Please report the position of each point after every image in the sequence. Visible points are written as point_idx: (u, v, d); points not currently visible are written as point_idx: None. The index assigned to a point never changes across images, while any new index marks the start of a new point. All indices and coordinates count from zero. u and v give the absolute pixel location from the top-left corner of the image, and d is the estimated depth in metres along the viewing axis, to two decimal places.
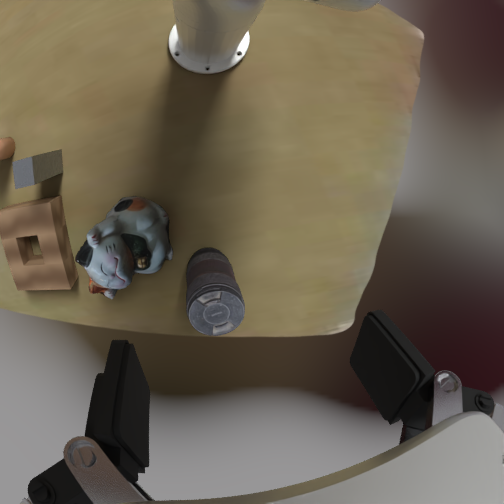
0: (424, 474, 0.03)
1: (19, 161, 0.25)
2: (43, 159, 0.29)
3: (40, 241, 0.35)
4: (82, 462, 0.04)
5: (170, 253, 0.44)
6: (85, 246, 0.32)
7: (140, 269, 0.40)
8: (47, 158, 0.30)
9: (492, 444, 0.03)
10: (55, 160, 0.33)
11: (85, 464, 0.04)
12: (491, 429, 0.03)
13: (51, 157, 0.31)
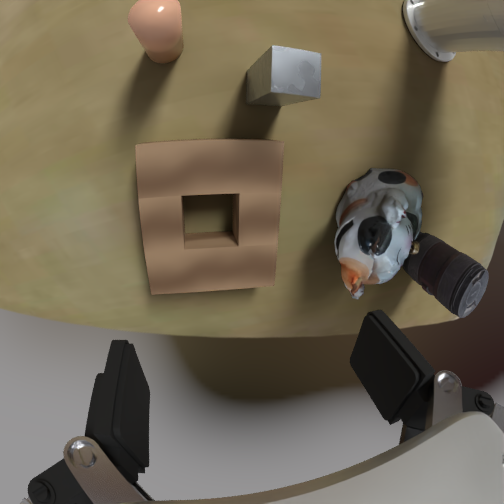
0: (424, 474, 0.03)
1: (291, 50, 0.16)
2: None
3: (243, 205, 0.26)
4: (82, 462, 0.04)
5: None
6: (384, 225, 0.24)
7: None
8: None
9: (492, 444, 0.03)
10: None
11: (85, 464, 0.04)
12: (491, 429, 0.03)
13: None
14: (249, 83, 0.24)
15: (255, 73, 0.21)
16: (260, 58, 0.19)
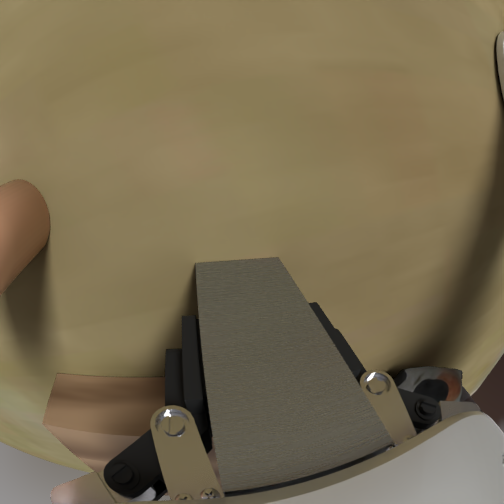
0: (424, 474, 0.03)
1: (293, 481, 0.04)
2: None
3: None
4: (167, 430, 0.06)
5: None
6: None
7: None
8: None
9: (492, 444, 0.03)
10: None
11: (170, 433, 0.06)
12: (491, 429, 0.03)
13: None
14: None
15: None
16: (204, 368, 0.07)
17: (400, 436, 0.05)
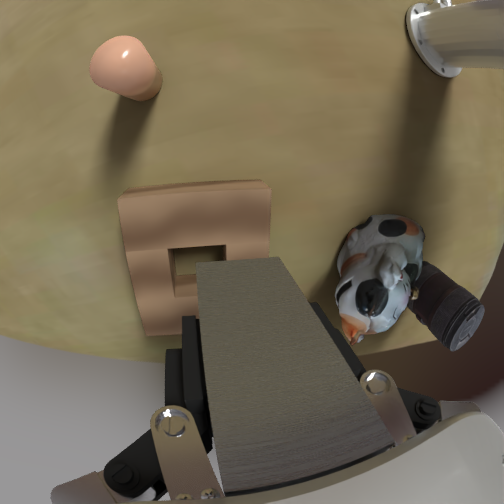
0: (424, 474, 0.03)
1: (294, 481, 0.04)
2: None
3: (230, 255, 0.26)
4: (167, 430, 0.06)
5: None
6: (381, 290, 0.25)
7: None
8: None
9: (492, 444, 0.03)
10: None
11: (170, 433, 0.06)
12: (491, 429, 0.03)
13: None
14: None
15: None
16: (204, 368, 0.07)
17: (400, 436, 0.05)
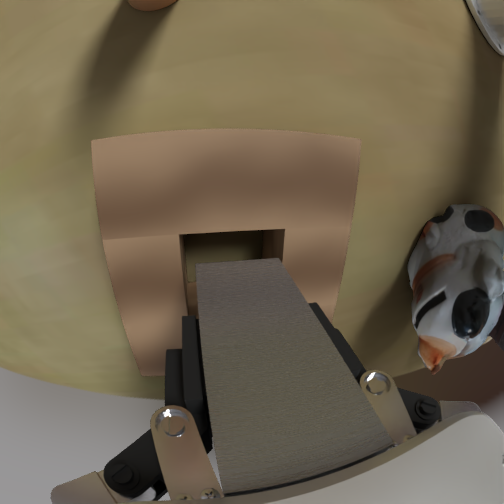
0: (424, 474, 0.03)
1: (293, 482, 0.04)
2: None
3: (289, 249, 0.15)
4: (167, 430, 0.06)
5: None
6: (486, 303, 0.14)
7: None
8: None
9: (492, 444, 0.03)
10: None
11: (170, 433, 0.06)
12: (491, 429, 0.03)
13: None
14: None
15: None
16: (204, 369, 0.07)
17: (400, 436, 0.05)
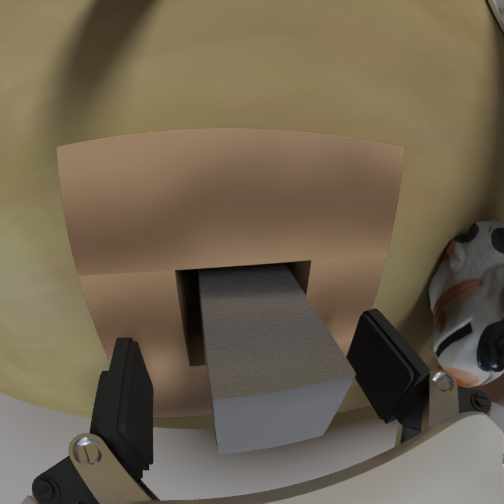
0: (424, 474, 0.03)
1: (270, 396, 0.06)
2: None
3: (315, 283, 0.12)
4: (87, 459, 0.04)
5: None
6: None
7: None
8: None
9: (492, 444, 0.03)
10: None
11: (91, 462, 0.04)
12: (491, 429, 0.03)
13: None
14: None
15: None
16: (202, 312, 0.09)
17: None
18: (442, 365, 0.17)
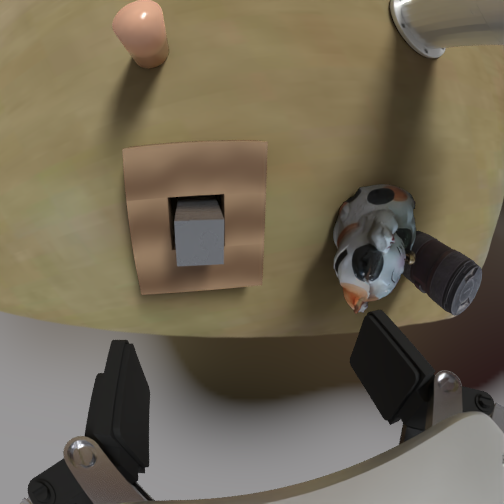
0: (424, 474, 0.03)
1: (192, 222, 0.21)
2: None
3: (228, 205, 0.27)
4: (82, 462, 0.04)
5: None
6: (375, 253, 0.26)
7: None
8: None
9: (492, 444, 0.03)
10: None
11: (86, 464, 0.04)
12: (491, 429, 0.03)
13: None
14: None
15: None
16: None
17: None
18: (340, 283, 0.32)
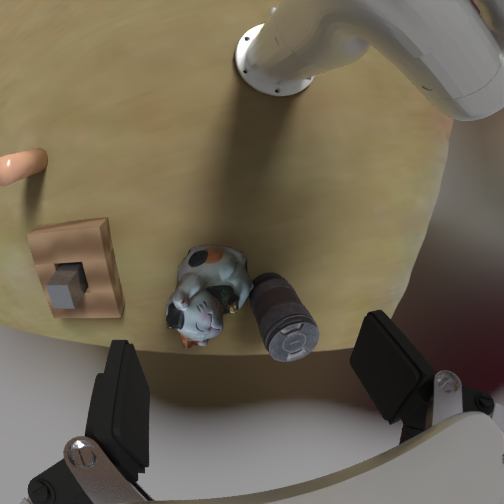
0: (424, 474, 0.03)
1: (53, 286, 0.30)
2: (76, 278, 0.34)
3: (85, 268, 0.36)
4: (82, 462, 0.04)
5: (251, 287, 0.46)
6: (174, 311, 0.35)
7: (229, 312, 0.43)
8: (79, 274, 0.35)
9: (492, 444, 0.03)
10: None
11: (85, 464, 0.04)
12: (491, 429, 0.03)
13: (82, 270, 0.36)
14: None
15: None
16: (55, 273, 0.33)
17: None
18: None
